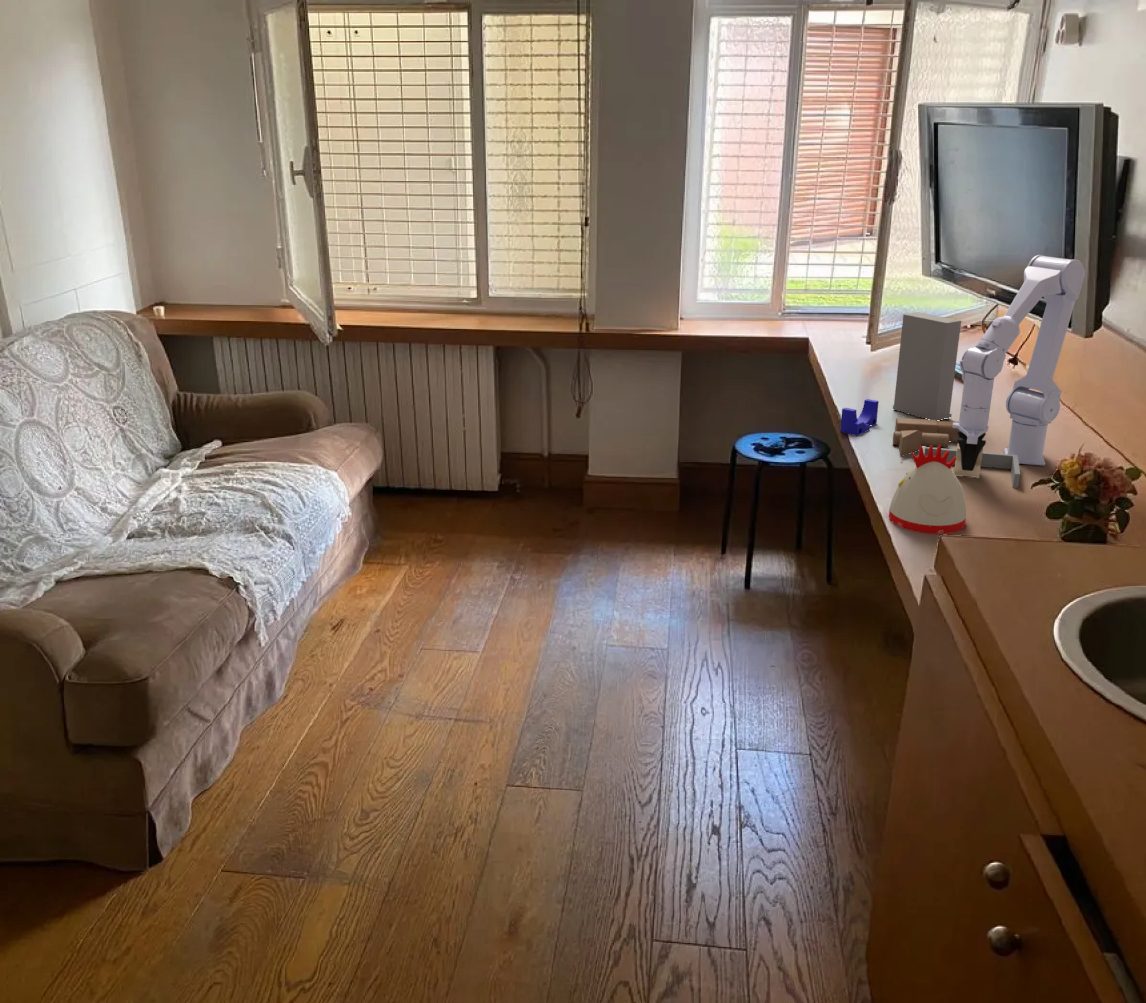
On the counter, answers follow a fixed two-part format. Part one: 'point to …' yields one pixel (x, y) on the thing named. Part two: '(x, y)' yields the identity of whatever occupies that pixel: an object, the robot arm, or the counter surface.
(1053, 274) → the robot arm
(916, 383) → the tall grey upright block
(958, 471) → the birch block
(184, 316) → the counter surface
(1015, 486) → the grey open bracket
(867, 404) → the cable clip
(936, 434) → the wooden block set
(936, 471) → the kitchen timer
